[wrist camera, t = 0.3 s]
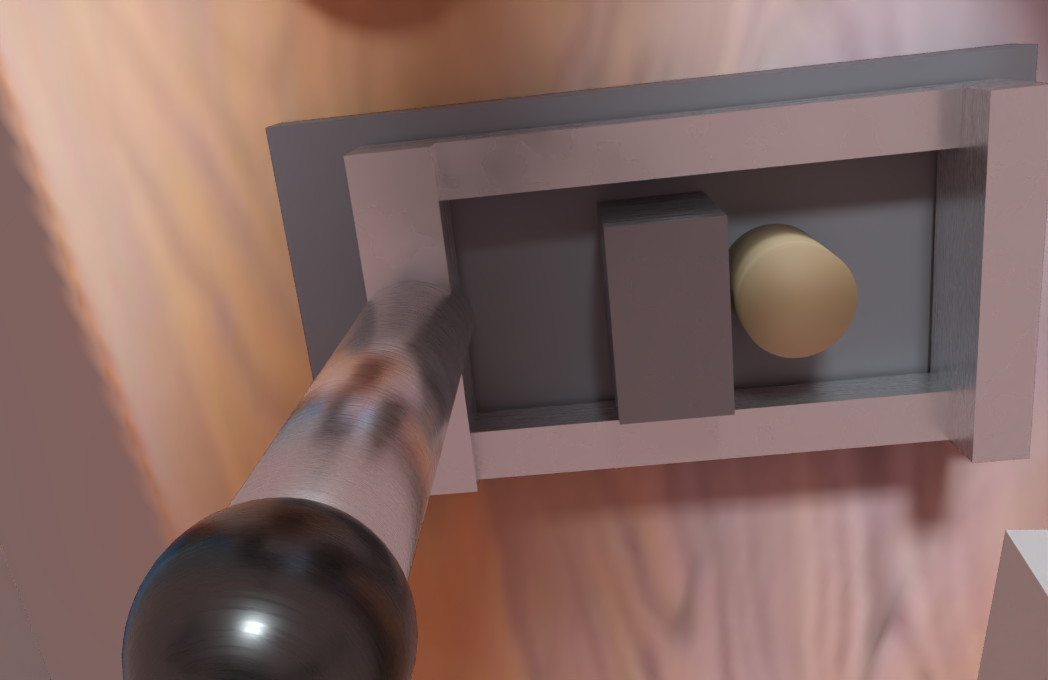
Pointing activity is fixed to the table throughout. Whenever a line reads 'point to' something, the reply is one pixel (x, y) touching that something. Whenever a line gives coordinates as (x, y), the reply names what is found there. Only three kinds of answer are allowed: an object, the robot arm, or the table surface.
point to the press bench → (571, 213)
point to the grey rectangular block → (667, 306)
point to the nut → (790, 291)
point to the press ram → (587, 428)
